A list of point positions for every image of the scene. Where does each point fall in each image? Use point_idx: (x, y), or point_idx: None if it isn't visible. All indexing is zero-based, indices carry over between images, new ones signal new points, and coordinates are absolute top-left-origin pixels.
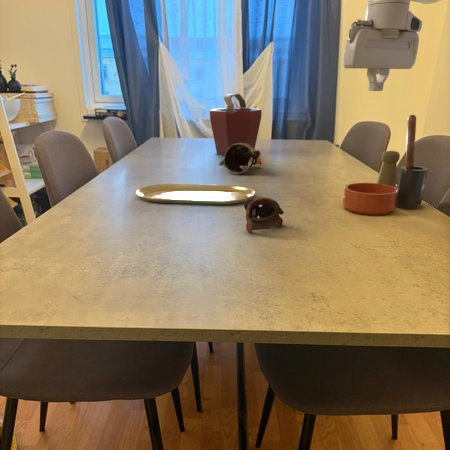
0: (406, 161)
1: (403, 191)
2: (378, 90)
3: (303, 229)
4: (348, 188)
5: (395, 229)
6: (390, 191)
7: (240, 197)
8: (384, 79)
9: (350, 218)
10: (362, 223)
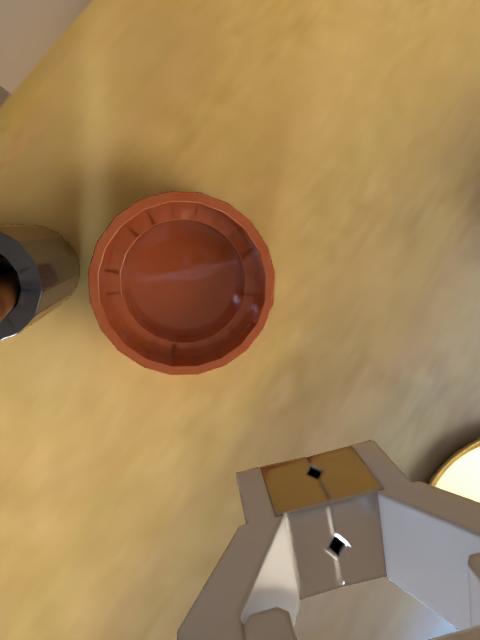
0: (6, 308)
1: (62, 256)
2: (293, 460)
3: (461, 171)
4: (234, 345)
5: (238, 65)
6: (102, 281)
7: (458, 484)
8: (253, 550)
9: (292, 212)
10: (290, 155)
